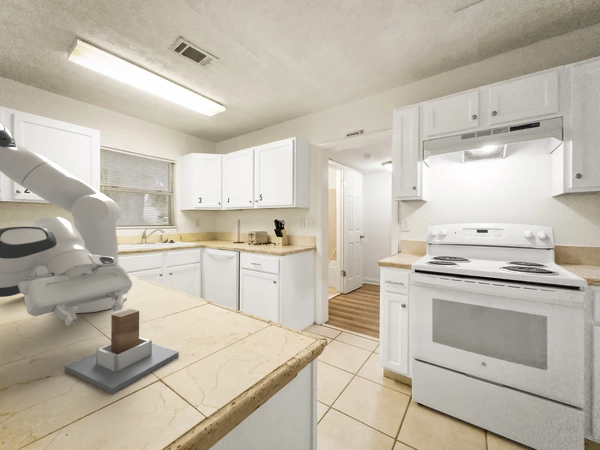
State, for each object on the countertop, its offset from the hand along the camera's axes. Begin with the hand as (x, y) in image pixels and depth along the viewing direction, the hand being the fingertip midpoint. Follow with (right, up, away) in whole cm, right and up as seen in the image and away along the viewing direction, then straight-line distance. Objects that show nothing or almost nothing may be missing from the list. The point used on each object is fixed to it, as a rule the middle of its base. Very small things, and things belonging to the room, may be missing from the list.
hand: (97, 315), depth 60 cm
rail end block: (+10, -8, -5) cm, 13 cm away
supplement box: (-56, -7, +42) cm, 70 cm away
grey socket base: (+10, -9, -5) cm, 14 cm away
